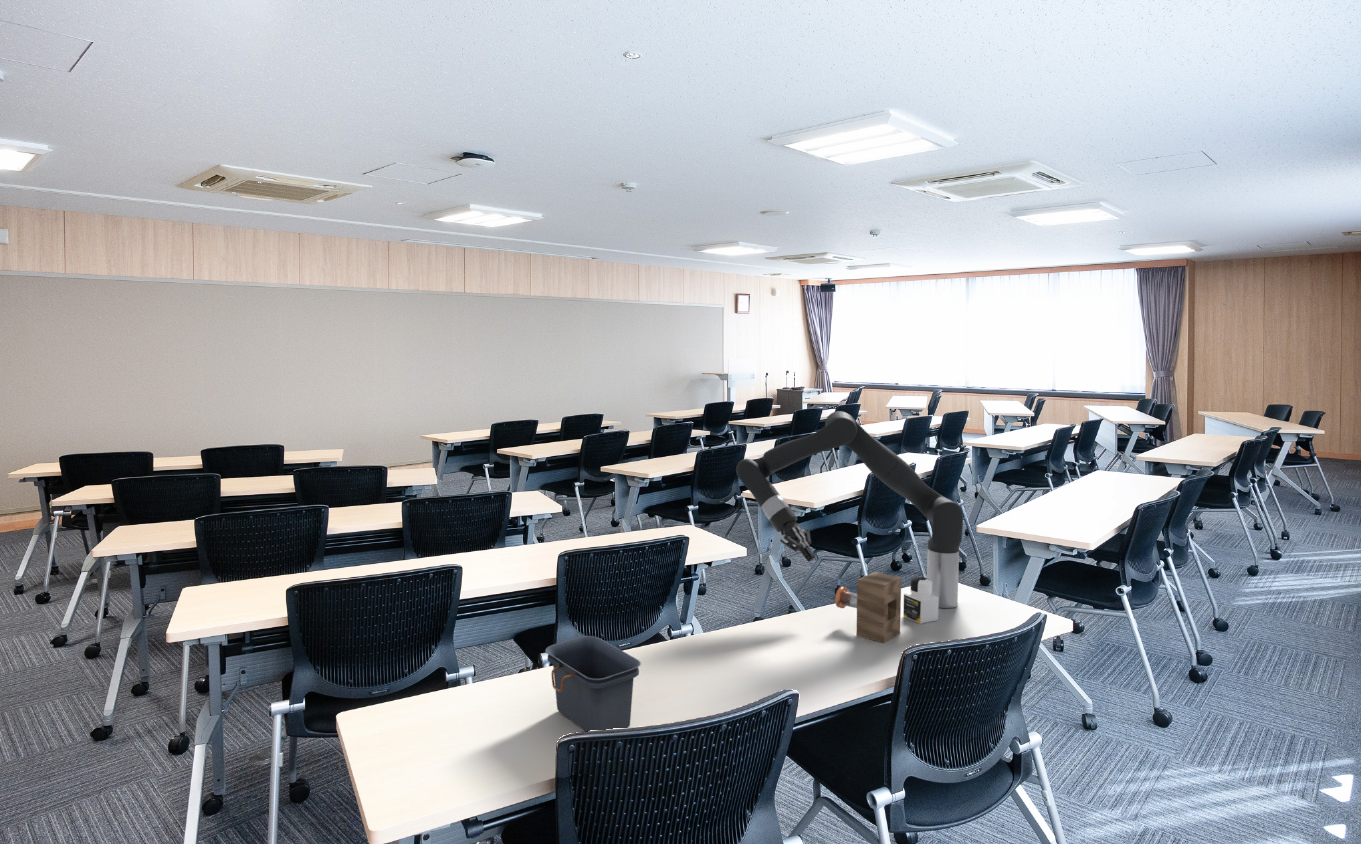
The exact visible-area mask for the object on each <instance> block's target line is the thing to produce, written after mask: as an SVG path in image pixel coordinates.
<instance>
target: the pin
mask: <svg viewBox="0 0 1361 844" xmlns="http://www.w3.org/2000/svg"><path fill="white" fill-rule="evenodd" d="M835 592H836V593H835V595H834V597H835V598H834V603H835V606H836V608H840V609H845V608H846V607H850V608H854V609H857V592H856V593H855V592H851V591H849V588H848V587H846V586H839V588H838V589H837V590H836V591H835Z"/></svg>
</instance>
